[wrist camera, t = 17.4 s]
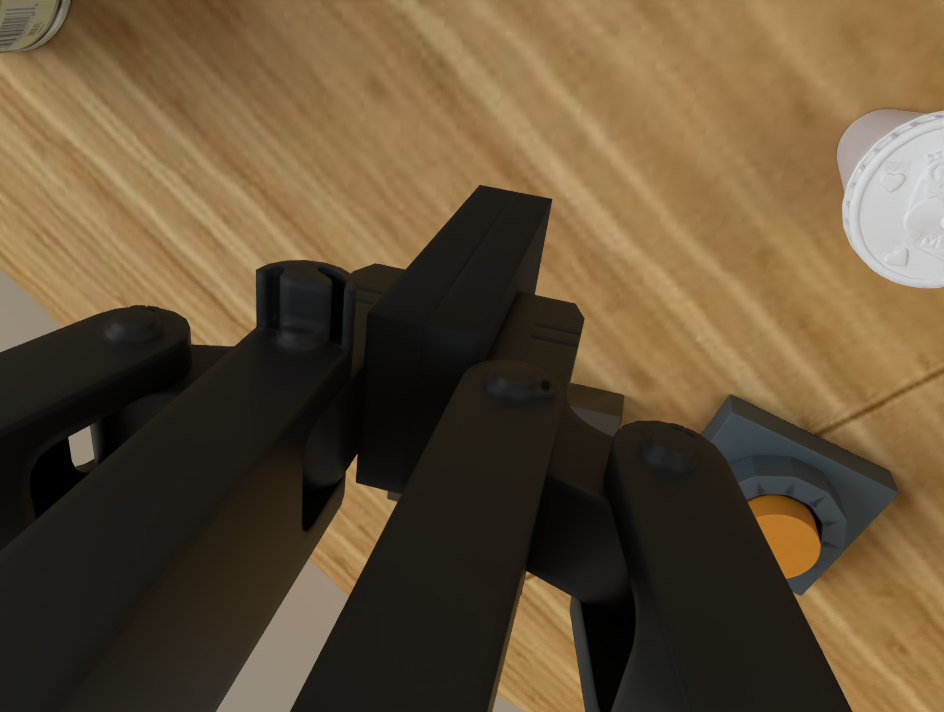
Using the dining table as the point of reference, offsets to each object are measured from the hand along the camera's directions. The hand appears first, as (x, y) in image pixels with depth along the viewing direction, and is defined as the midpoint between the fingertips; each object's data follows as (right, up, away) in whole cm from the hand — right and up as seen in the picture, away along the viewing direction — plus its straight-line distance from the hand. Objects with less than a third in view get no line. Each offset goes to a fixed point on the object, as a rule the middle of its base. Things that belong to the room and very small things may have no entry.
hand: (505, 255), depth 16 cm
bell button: (+16, -12, +26) cm, 32 cm away
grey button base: (+17, -10, +29) cm, 35 cm away
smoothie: (+18, +8, +20) cm, 28 cm away
